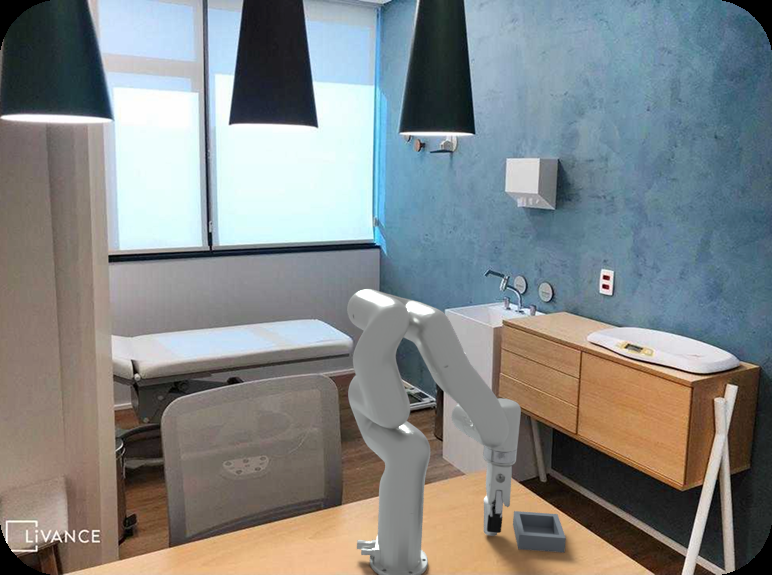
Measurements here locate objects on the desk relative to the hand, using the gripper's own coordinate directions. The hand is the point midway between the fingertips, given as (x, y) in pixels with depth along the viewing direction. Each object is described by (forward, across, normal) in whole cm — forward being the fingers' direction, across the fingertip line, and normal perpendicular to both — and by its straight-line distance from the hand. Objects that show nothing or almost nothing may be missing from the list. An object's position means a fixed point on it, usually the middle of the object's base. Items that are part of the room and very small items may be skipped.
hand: (492, 525), depth 154 cm
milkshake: (+2, 0, 0) cm, 2 cm away
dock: (+2, 0, -11) cm, 11 cm away
